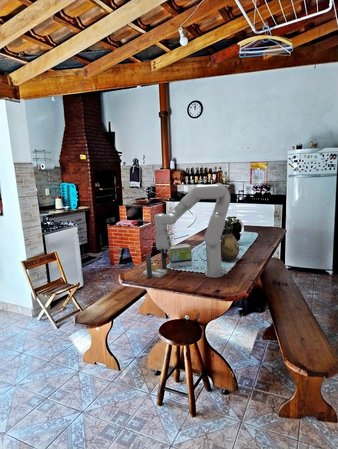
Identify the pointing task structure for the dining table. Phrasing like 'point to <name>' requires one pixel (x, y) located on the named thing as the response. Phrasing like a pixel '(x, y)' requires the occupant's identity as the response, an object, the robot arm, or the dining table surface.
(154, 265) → the toggle amber
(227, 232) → the ceramic jug
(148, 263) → the post left
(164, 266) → the post right
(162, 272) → the panel
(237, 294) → the dining table surface
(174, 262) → the tea box
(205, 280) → the dining table surface
